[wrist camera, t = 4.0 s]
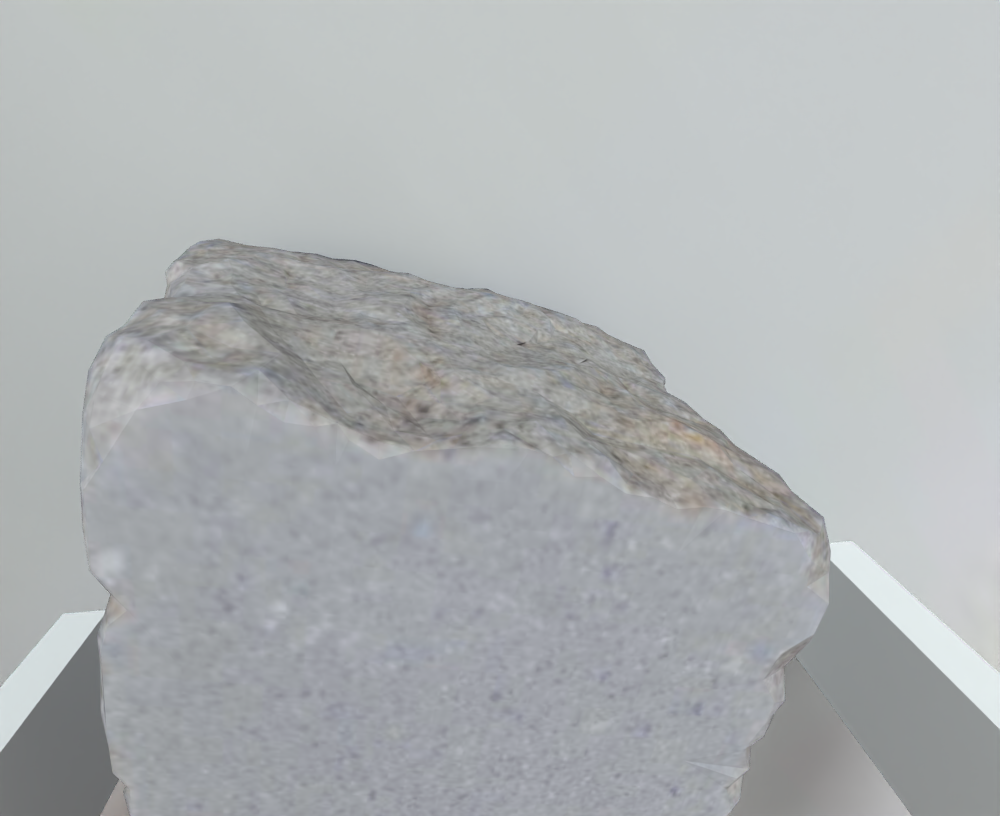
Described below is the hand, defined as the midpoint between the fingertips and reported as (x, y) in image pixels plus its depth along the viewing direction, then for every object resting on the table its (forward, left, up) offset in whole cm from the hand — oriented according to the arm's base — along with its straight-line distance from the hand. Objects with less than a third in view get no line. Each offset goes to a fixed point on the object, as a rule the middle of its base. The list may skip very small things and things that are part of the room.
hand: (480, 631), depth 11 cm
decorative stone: (-1, +1, -3) cm, 3 cm away
